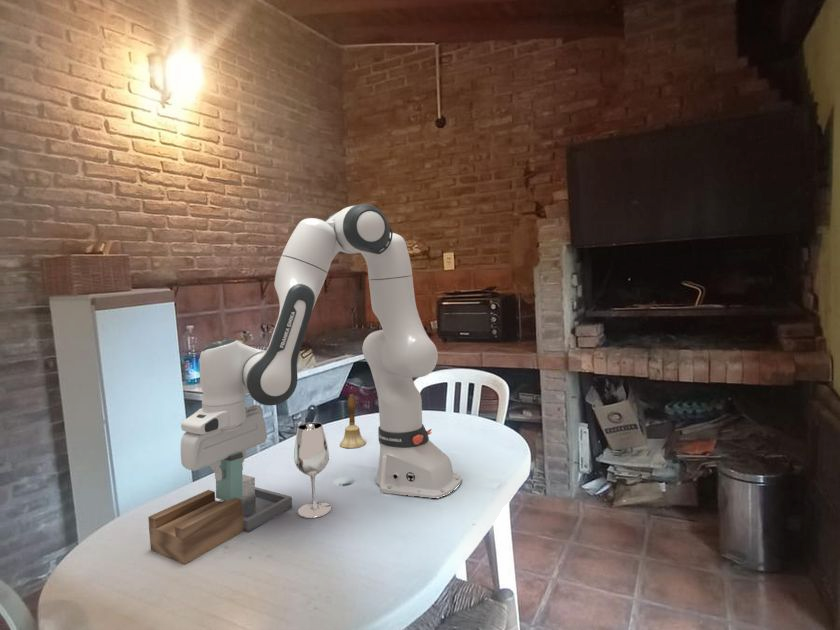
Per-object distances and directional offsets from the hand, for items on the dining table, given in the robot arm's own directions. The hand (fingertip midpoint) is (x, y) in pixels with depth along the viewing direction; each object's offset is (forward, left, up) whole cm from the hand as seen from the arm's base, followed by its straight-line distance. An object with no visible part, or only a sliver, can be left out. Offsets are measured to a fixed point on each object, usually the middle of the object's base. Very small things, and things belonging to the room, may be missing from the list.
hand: (229, 475), depth 113 cm
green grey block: (0, +1, -5) cm, 5 cm away
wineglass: (-13, -12, -11) cm, 21 cm away
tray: (0, -5, -11) cm, 12 cm away
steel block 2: (0, -1, -8) cm, 8 cm away
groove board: (0, +9, -11) cm, 14 cm away
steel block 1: (0, -3, -6) cm, 7 cm away
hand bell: (+7, -52, -11) cm, 54 cm away
